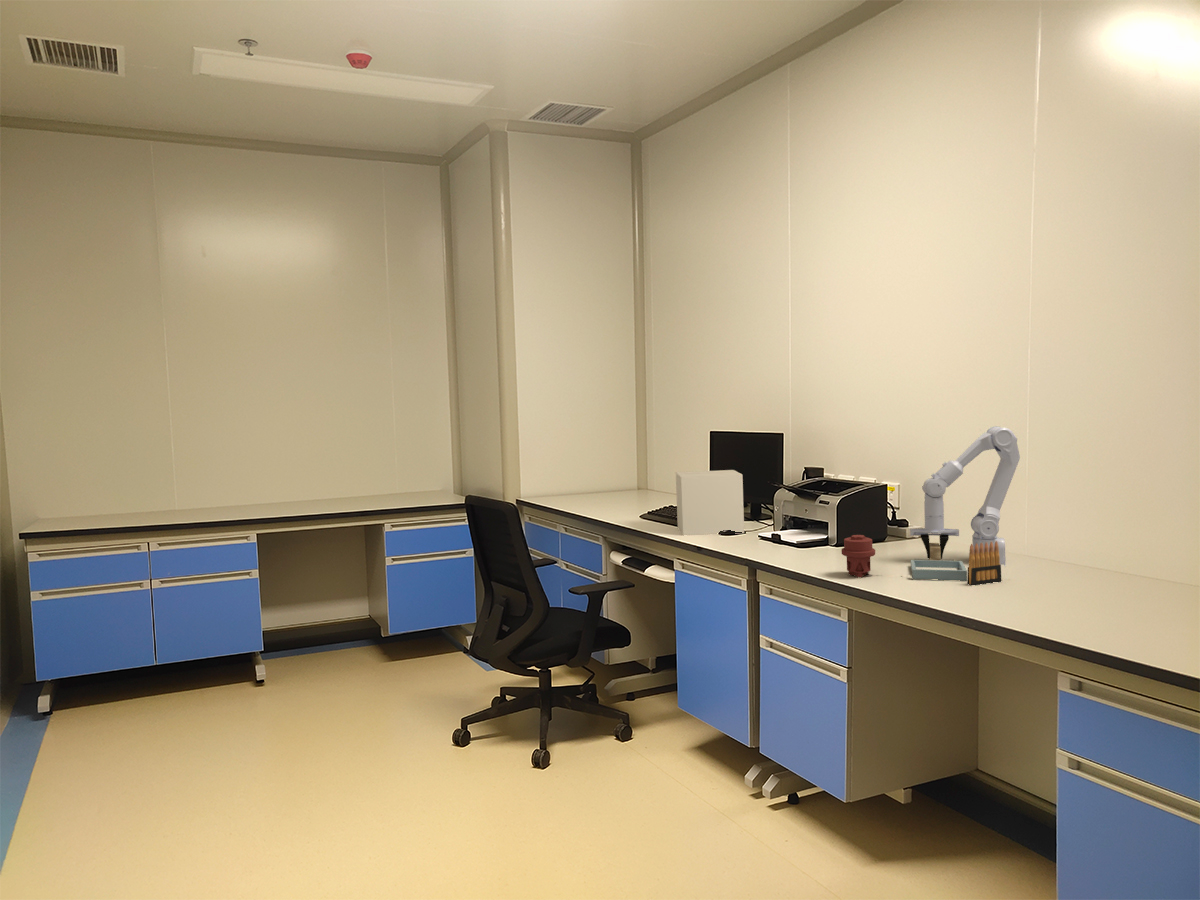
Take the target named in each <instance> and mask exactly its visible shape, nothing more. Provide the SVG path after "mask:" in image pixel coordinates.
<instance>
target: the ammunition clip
mask: <svg viewBox="0 0 1200 900" xmlns="http://www.w3.org/2000/svg"><path fill="white" fill-rule="evenodd" d="M968 555H969V556H968V567H967V581H966V583H967V585H968V584H969V585H968V586H971V585H975V586H981V585H980V584H982V585H987V584H986V583H990V584H994V583H993V582H998V583H1002V582H1001V581H1002V564H1000V556H999V547H998V542H997V541H996V542H995V546H994V547H993V543H992V542H991V543H990V547H988V544H987V542H986V543H985V547H983V544H982V543H981V544H980V549H979V547H978V544H977V543H976V545H975V550H974V548H973V543H971V544H970V545H969V553H968Z"/></svg>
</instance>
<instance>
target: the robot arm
mask: <svg viewBox="0 0 1200 900" xmlns="http://www.w3.org/2000/svg"><path fill="white" fill-rule="evenodd" d="M1018 446H1019V445H1018V438H1017V436H1016V435H1015V433H1014V432H1013V430H1011V429H1010V428H1008V427H1001V426H996V425H995V426H991V427H990V428H988V429H987V431H986V432H985V431H984V433H982V434H980V435H979V436H978V437H977V439H975V440H974V442H973V443H971V445H969V446H968V448H966V449H965V450H964V451H963V452H962V453H961V454H960V455H959V457H957V458H956V459H955V460H948V461H947V462H946V461H944V462H943V463H942V467H941V468H940V469H938V470H937V471H936V472H935V473H934V472H933V473H932V474H931V477H930V478H927V479H925V480H924V482H923V485H922V487H921V488H922V491H923V493H924V502H923V503H924V506H923V508H924V528H923V527H922V528H910V529H909V534H910V537H911V536H913V537H914V536H919V537H920V539H921V541H922V544H923V545H924V548H925V551H926V559H929V558H930V550H929V543H930V536H939V545H940V548H941V559H943V554H944V551H945V548H946V545H947V543H948V541H949V539H950V538H949V537H950V536H951V537H960V530H959V529H958V528H955V529H954V528H945V518H944V517H945V514H944V513H945V510H944V509H945V508H944V506H945V504H944V495H945V493H946V491H947V490H946V489H947V488H949V487H950V486H951V485H952V484H953V483H955V481H956V480H958V479H959V478H960V477H961V476H962V475H963V474H964V468H965V467H966V466H967V465H968V464H969V463H971V461H973V460H974V459H976V458H977V457H978V456H980V454H982V453H983V452H985V451H991V450H995V452H996V453H997V455H998V456H999V458H1000V459H999V462H998V465H997V467H996V468H997V469H996V470H995V472H994V474H993V475H994V476H993V479H992V481H991V482H990V483H991V484H990V486H989V489H988V491H987V494H986V495H985V499H984V501H983V504H982V506H981V507H980V508H979V510H978V512H977V514H976V515H974V516H973V517H972V519H971V521H970V527H971V530H972V531H973V534H972V543H971V544H972V545H973V548H974V550H975V545H976V543H977V544H978V547H979V549H980V544H981V543H982V544H983V547H985V543H986V542H987V544H988V547H990V543H991V542H992V543H993V547H994V546H995V542H996V541H997V542H998V547H999V556H1000V565H1001V566H1002V565H1003V566H1004V567H1005V568H1006V567H1007V566H1006V562H1007V561H1006V541H1005V538H1004V537H998V535H997V534H998V533H999V530H1000V525H999V523H1000V522H999V521H1000V519H1001V513H1000V512H1001V508H1002V505H1003V504H1004V501H1005V498H1006V495H1007V493H1008V491H1009V489H1010V486H1011V483H1012V480H1013V478H1014V474H1015V472H1016V470H1017V467H1018V464H1019V462H1020V459H1021V456H1020V451H1019V447H1018Z"/></svg>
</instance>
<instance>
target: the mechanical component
mask: <svg viewBox="0 0 1200 900" xmlns="http://www.w3.org/2000/svg"><path fill="white" fill-rule="evenodd" d="M843 545H844V546H843V547H842V548H841V550H840V551H841V555H842V556H844V557H846V571H847V572H848V575H849V574H851V575H850V576H853V575H855V576H854V577H856V576H857V577H856V578H858V577H861V578H863V577H864V576H867V575H866V574H868V575H869V572H871V568H872V567H871V558H872V557H874V556H876V549H875V548H873V539H872V538H870V537H866V536H865V535H864V534H853V535H850V536H849V537H846V538H844V539H843ZM863 575H864V576H863Z"/></svg>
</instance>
